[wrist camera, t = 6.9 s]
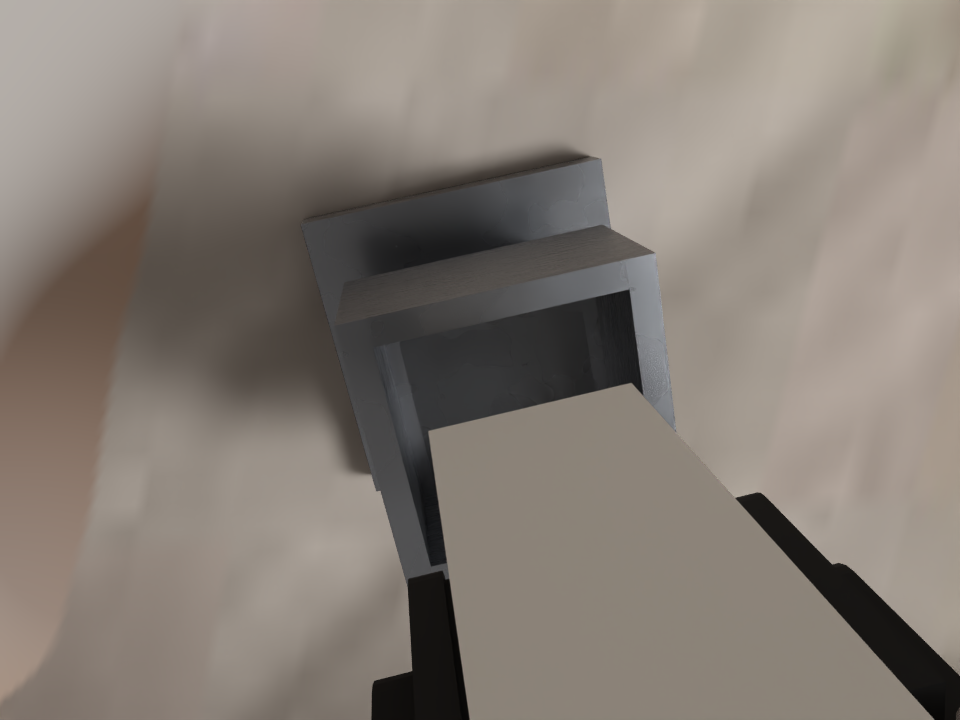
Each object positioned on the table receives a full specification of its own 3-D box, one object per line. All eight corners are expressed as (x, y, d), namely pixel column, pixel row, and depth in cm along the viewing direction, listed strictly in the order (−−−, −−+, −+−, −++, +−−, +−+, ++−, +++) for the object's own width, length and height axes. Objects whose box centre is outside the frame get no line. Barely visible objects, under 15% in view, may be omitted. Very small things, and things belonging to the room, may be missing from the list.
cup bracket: (591, 156, 25) (705, 183, 16) (628, 416, 28) (738, 556, 20) (304, 219, 25) (258, 282, 16) (376, 475, 28) (372, 648, 19)
